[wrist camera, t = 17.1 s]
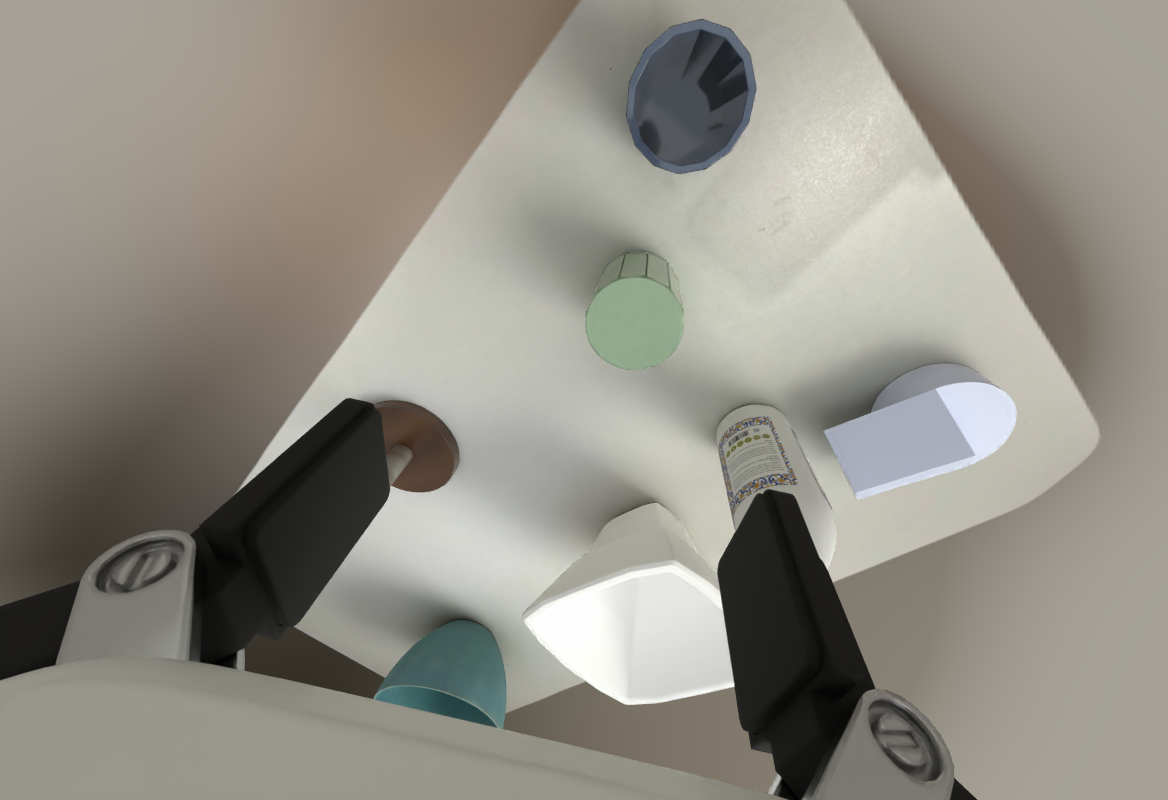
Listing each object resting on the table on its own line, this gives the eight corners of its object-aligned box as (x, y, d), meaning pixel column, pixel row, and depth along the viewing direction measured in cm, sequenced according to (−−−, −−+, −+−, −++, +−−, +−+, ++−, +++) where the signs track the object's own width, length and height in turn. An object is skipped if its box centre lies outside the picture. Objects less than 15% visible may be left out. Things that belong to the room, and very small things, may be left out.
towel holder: (339, 428, 49) (269, 491, 40) (405, 382, 45) (342, 441, 36) (412, 496, 53) (364, 567, 45) (480, 460, 49) (440, 531, 40)
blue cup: (615, 102, 30) (602, 86, 22) (701, 28, 27) (719, -18, 19) (662, 185, 32) (664, 198, 24) (745, 125, 29) (777, 118, 22)
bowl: (537, 509, 51) (502, 618, 40) (674, 439, 43) (682, 548, 32) (627, 596, 57) (620, 712, 46) (762, 548, 49) (797, 674, 38)
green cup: (583, 281, 36) (566, 312, 30) (651, 234, 34) (651, 256, 27) (625, 343, 39) (619, 385, 32) (692, 304, 36) (701, 341, 29)
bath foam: (701, 442, 43) (731, 634, 26) (742, 390, 40) (808, 573, 23) (760, 469, 44) (826, 674, 27) (805, 421, 40) (916, 621, 23)
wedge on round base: (843, 476, 43) (997, 425, 38) (872, 527, 37) (1059, 475, 32) (811, 410, 40) (975, 344, 34) (837, 454, 34) (1038, 384, 29)
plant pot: (401, 634, 71) (357, 717, 61) (439, 583, 62) (395, 670, 52) (495, 677, 74) (469, 764, 64) (544, 635, 65) (523, 727, 55)
